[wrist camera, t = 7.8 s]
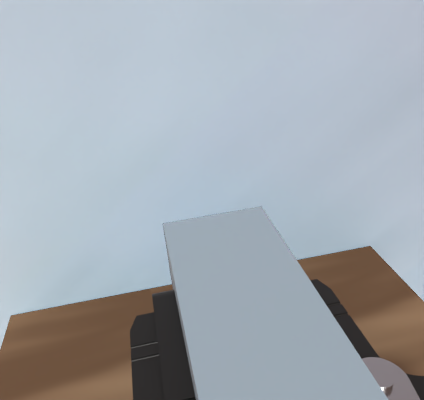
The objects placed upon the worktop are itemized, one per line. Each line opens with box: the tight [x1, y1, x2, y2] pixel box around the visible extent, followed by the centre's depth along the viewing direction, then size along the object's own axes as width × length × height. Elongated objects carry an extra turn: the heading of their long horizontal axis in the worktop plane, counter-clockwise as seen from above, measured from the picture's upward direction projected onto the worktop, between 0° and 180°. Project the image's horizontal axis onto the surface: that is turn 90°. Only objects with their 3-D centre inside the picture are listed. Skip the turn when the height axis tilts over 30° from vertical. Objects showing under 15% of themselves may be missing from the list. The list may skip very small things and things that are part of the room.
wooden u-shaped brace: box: [0, 246, 424, 400], centre depth 15 cm, size 3×16×8 cm, turn 94°
